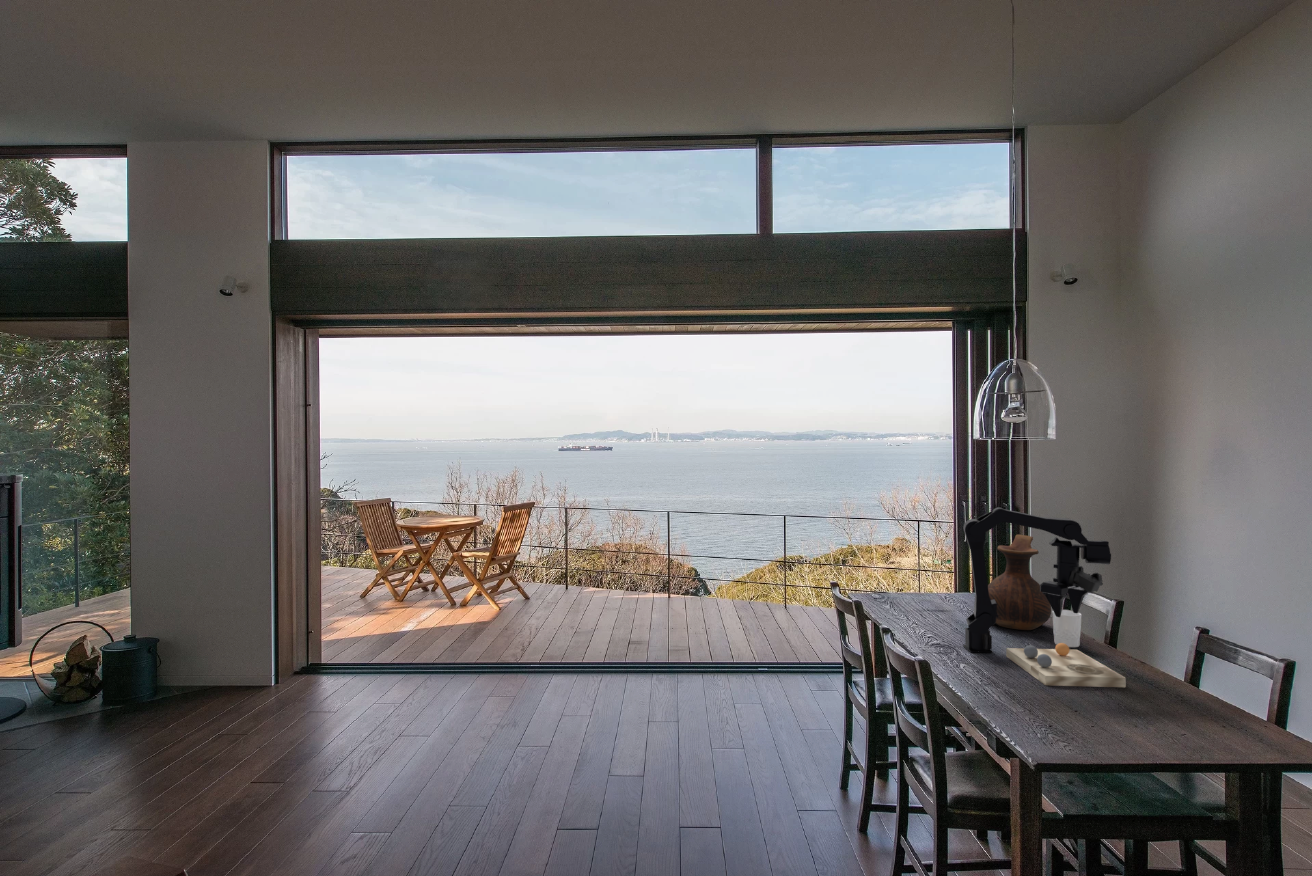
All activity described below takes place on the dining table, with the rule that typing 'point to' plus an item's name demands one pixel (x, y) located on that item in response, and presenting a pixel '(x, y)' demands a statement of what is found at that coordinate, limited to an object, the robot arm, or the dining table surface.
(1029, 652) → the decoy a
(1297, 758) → the dining table surface
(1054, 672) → the board
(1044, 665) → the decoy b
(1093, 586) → the robot arm
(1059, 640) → the white cup
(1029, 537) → the jug
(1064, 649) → the ball
